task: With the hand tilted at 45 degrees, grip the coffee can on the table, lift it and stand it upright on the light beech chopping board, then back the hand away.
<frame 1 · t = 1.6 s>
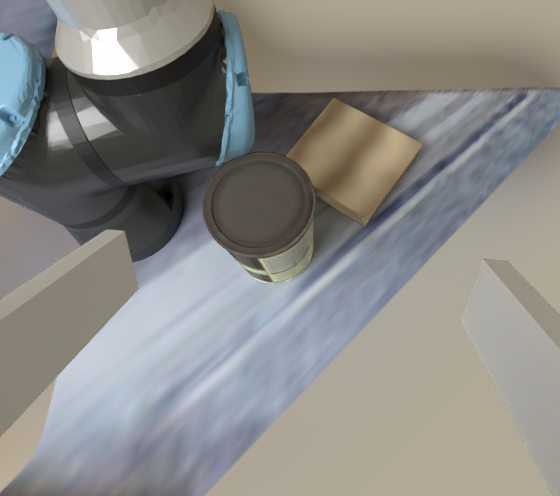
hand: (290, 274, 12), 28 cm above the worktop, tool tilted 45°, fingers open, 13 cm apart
coffee can: (275, 246, 42), on the worktop, touching arm
chopping board: (347, 164, 44), on the worktop
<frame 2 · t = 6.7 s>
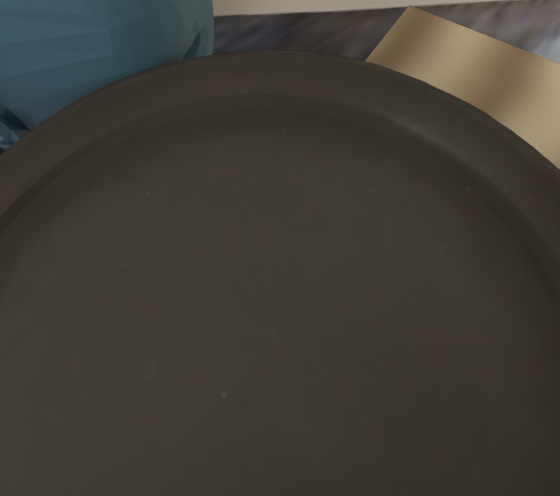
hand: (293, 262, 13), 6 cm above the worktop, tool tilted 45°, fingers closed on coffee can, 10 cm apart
coffee can: (289, 340, 17), on the worktop, touching arm, gripper
chopping board: (443, 148, 20), on the worktop
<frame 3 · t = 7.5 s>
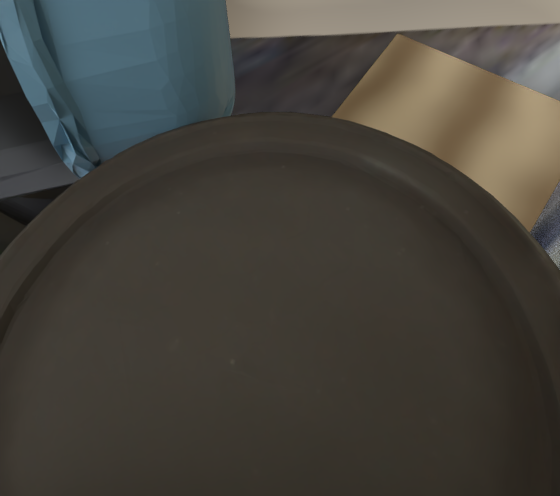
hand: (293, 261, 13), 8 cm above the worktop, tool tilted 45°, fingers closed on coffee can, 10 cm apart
coffee can: (293, 377, 18), point 2 cm above the worktop, touching gripper
chopping board: (428, 161, 23), on the worktop
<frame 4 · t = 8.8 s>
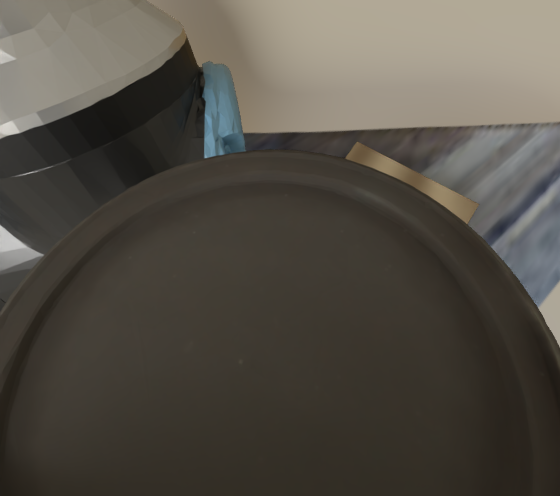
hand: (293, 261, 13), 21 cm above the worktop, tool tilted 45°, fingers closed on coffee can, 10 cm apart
coffee can: (288, 405, 18), point 14 cm above the worktop, touching gripper
chopping board: (378, 228, 34), on the worktop
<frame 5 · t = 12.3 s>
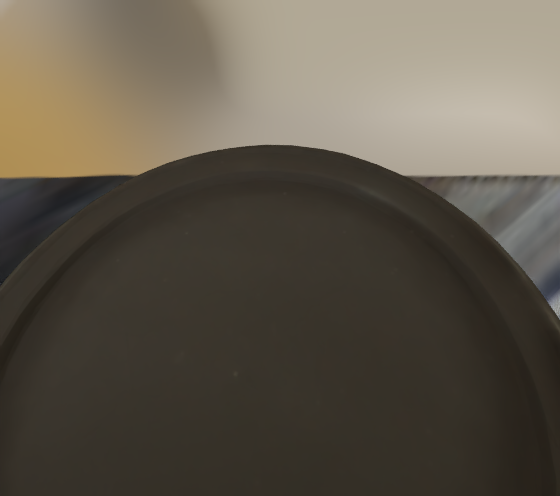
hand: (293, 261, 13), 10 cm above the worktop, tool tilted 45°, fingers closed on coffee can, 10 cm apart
coffee can: (287, 408, 17), point 3 cm above the worktop, touching chopping board, gripper
when the fingers open (10 cm above the worktop, at t = 12.8 s): coffee can drops 1 cm, resting on chopping board.
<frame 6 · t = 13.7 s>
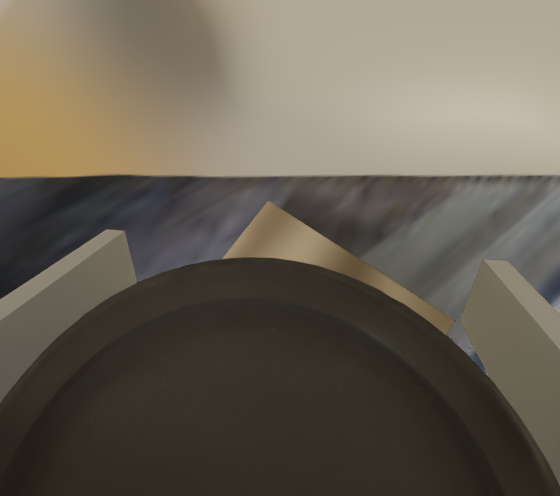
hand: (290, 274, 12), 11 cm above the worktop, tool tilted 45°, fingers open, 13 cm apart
coffee can: (291, 407, 18), point 2 cm above the worktop, touching chopping board
chopping board: (296, 340, 21), on the worktop
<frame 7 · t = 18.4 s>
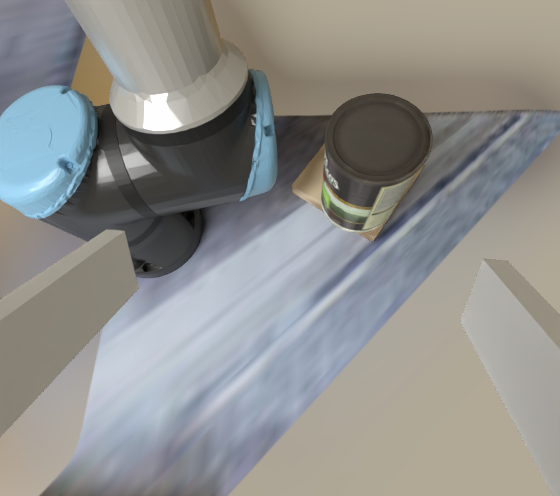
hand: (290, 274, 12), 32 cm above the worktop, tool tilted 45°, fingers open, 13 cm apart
coffee can: (357, 199, 44), point 2 cm above the worktop, touching chopping board
chopping board: (355, 183, 47), on the worktop
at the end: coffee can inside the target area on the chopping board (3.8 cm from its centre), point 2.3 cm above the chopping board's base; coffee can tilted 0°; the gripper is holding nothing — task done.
